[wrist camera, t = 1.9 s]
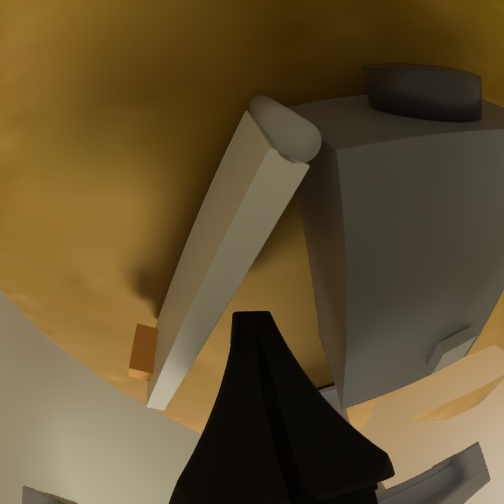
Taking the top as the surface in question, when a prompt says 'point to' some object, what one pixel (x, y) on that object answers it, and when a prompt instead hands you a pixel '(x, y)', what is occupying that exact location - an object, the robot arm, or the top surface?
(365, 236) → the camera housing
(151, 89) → the top surface
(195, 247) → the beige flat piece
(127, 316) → the top surface
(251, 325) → the robot arm
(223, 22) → the top surface
